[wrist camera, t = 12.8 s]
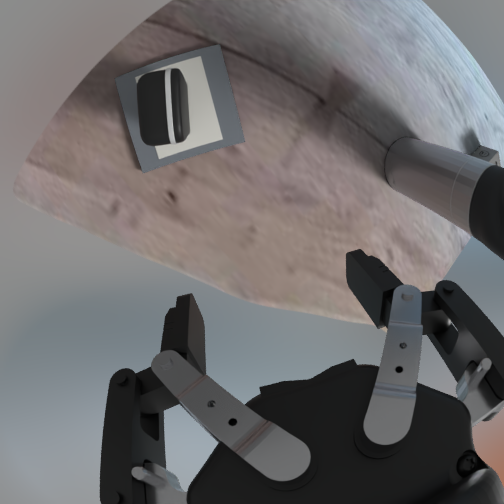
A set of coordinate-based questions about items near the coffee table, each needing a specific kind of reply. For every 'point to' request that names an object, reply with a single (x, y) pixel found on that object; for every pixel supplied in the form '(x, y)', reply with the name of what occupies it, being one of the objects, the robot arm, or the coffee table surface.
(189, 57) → the pad
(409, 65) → the coffee table surface
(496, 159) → the dice cube
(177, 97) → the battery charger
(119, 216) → the coffee table surface
